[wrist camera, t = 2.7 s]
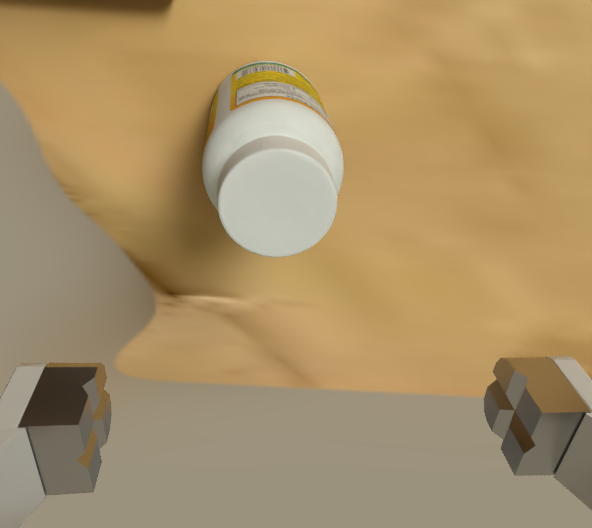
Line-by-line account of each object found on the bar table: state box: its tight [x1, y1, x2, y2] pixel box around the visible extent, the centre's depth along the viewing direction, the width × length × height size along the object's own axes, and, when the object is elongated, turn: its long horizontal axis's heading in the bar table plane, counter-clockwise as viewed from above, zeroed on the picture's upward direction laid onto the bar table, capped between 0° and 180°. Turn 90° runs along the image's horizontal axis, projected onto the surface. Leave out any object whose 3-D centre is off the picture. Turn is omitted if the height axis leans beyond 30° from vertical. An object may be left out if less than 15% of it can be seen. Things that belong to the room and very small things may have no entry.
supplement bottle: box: [202, 61, 344, 257], centre depth 21 cm, size 5×5×10 cm
